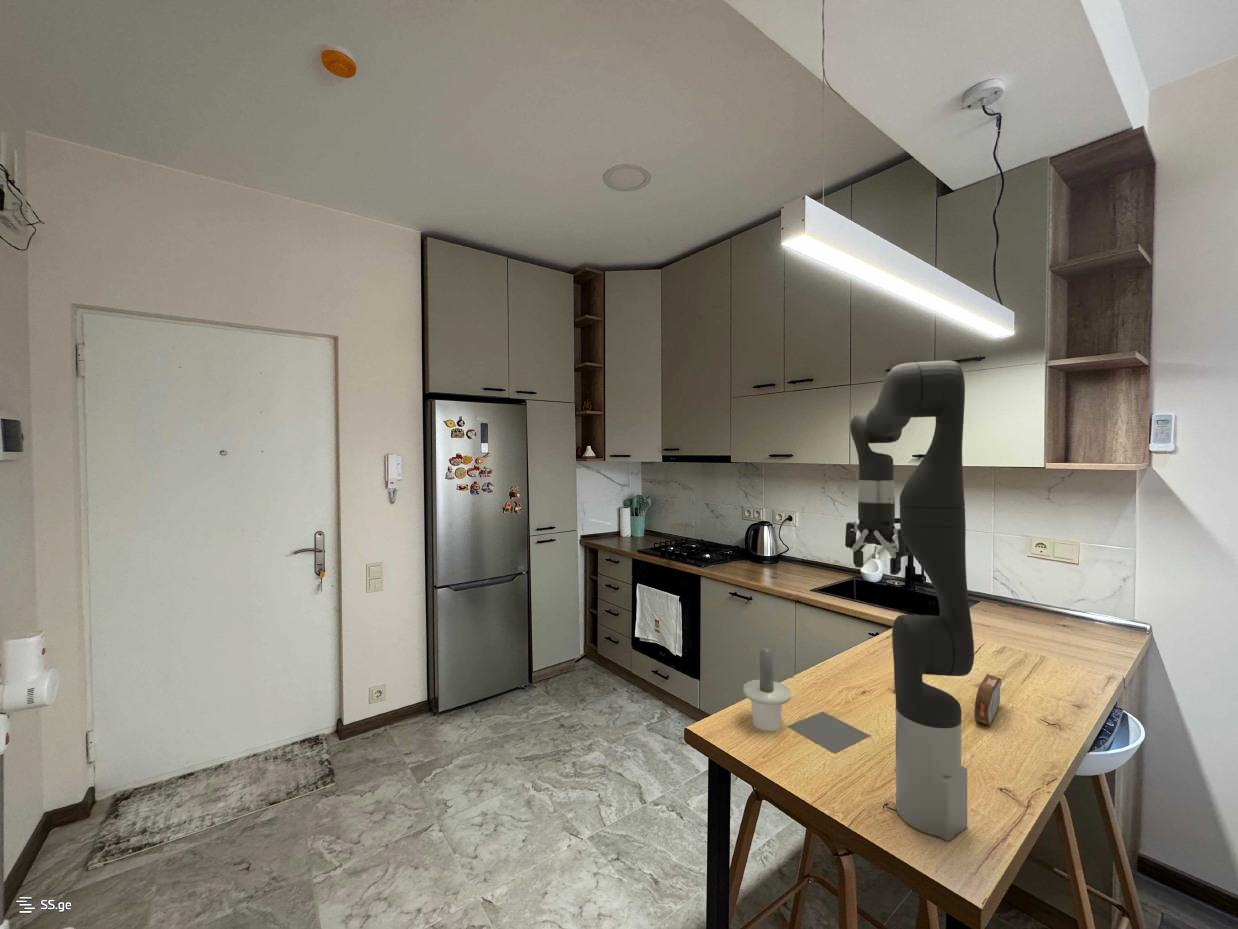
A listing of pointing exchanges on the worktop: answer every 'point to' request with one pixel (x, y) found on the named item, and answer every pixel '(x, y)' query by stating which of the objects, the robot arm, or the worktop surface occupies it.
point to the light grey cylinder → (766, 716)
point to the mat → (829, 732)
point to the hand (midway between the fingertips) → (876, 570)
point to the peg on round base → (766, 682)
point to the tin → (987, 699)
